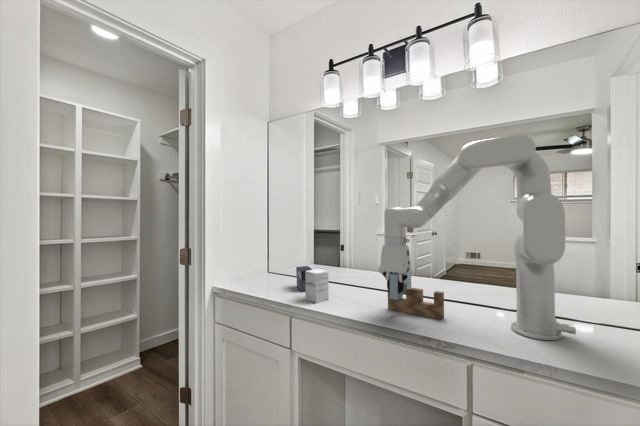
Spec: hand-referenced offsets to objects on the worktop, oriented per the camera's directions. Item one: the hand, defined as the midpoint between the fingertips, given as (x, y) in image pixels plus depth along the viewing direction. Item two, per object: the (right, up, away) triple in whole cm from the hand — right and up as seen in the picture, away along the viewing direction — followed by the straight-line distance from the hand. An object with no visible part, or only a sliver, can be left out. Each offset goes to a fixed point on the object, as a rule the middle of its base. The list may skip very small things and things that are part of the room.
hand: (395, 291), depth 107 cm
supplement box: (-29, -9, +20) cm, 36 cm away
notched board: (+8, -9, +1) cm, 11 cm away
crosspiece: (+3, -3, +4) cm, 6 cm away
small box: (-35, -9, +38) cm, 53 cm away
